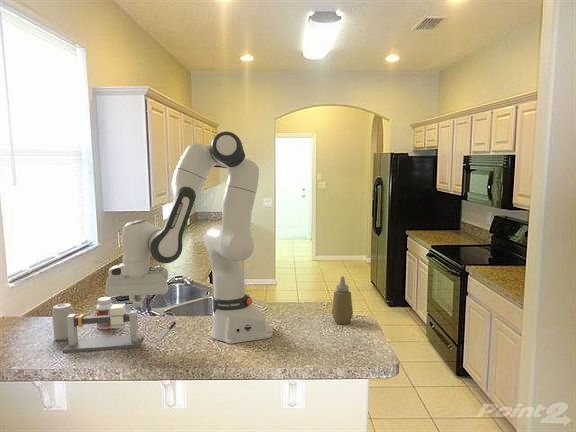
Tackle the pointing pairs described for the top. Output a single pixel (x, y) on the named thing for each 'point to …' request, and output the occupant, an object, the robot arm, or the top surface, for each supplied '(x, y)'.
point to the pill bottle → (104, 311)
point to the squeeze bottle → (342, 303)
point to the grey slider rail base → (101, 342)
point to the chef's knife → (164, 332)
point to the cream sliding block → (117, 315)
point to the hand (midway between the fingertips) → (137, 307)
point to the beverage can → (61, 320)
